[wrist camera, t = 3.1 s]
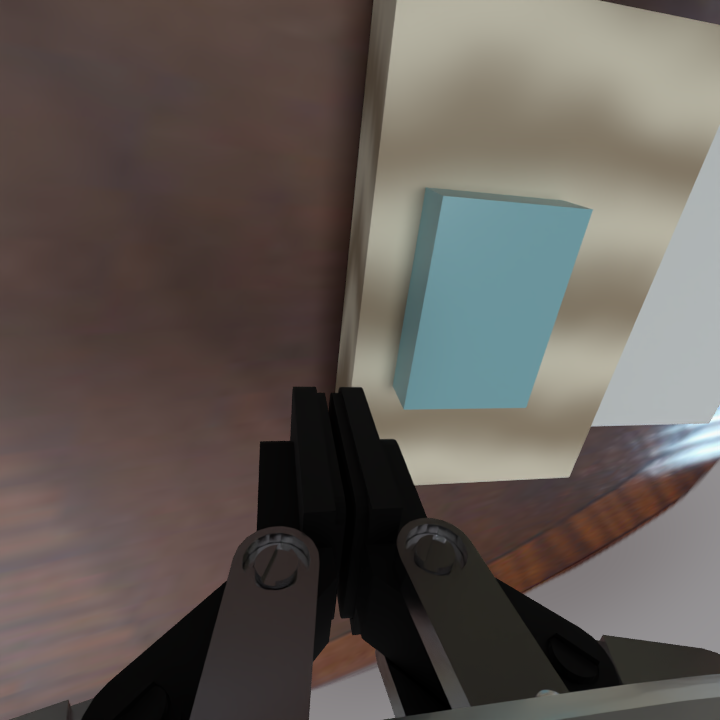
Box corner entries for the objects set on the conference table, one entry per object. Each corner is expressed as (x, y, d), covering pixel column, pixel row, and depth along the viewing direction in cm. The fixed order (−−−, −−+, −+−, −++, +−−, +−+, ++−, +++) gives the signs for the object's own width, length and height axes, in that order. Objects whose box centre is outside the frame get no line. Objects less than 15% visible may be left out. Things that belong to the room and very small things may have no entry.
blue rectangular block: (425, 187, 17) (443, 195, 16) (562, 200, 19) (593, 209, 17) (392, 385, 22) (403, 409, 20) (506, 385, 23) (526, 407, 21)
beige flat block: (374, -11, 17) (401, -41, 14) (675, 45, 20) (758, 33, 17) (330, 441, 28) (339, 489, 24) (535, 435, 31) (569, 477, 27)
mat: (675, 73, 21) (681, 72, 21) (880, 108, 24) (889, 108, 23) (545, 423, 30) (549, 427, 30) (704, 420, 33) (708, 423, 33)
